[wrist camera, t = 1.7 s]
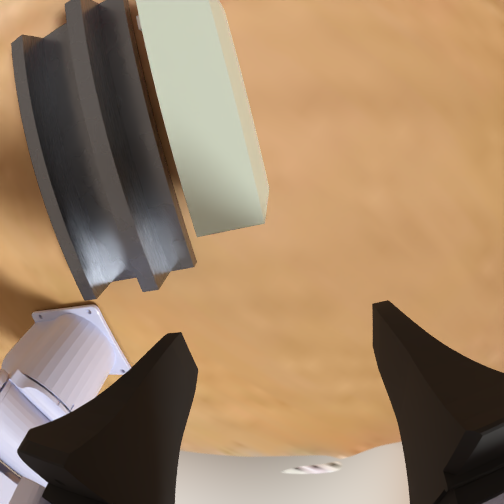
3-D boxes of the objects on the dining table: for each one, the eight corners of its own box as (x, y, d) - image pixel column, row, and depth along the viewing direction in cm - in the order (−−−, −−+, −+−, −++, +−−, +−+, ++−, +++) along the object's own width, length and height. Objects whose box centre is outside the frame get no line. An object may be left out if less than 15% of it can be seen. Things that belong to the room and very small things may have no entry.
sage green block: (269, 187, 19) (264, 223, 13) (215, 198, 20) (186, 239, 14) (224, 11, 15) (198, -36, 8) (171, 27, 15) (123, -7, 9)
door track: (196, 261, 22) (184, 285, 19) (88, 281, 23) (68, 302, 20) (126, -5, 14) (104, -19, 11) (24, 57, 16) (-4, 56, 13)
